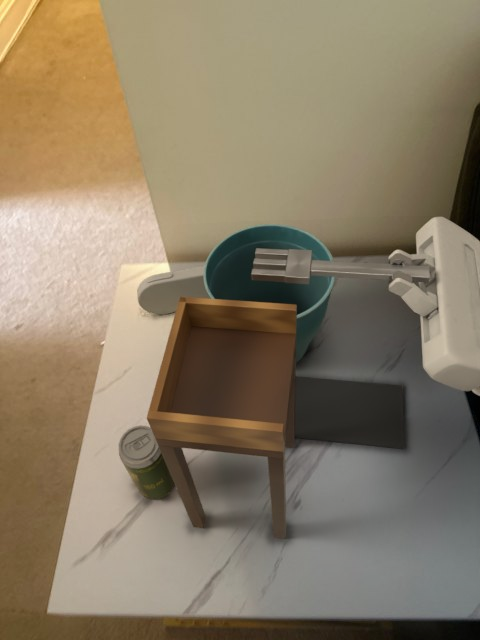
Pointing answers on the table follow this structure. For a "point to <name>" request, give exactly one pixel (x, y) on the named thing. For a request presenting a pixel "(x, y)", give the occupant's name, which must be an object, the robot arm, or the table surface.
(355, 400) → the mat
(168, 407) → the stand
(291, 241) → the flower pot
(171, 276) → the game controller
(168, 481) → the beer can
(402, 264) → the robot arm
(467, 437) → the table surface
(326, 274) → the fork
